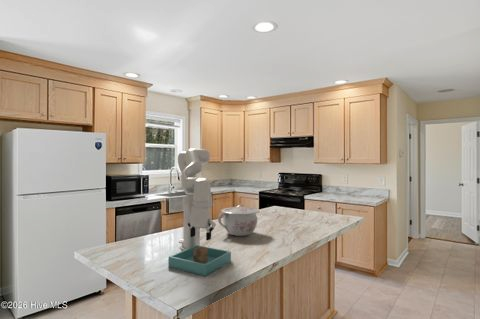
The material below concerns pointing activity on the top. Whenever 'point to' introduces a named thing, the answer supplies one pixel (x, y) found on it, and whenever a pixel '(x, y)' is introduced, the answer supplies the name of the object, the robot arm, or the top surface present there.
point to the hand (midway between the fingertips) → (200, 238)
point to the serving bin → (187, 264)
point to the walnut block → (201, 255)
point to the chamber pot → (239, 220)
